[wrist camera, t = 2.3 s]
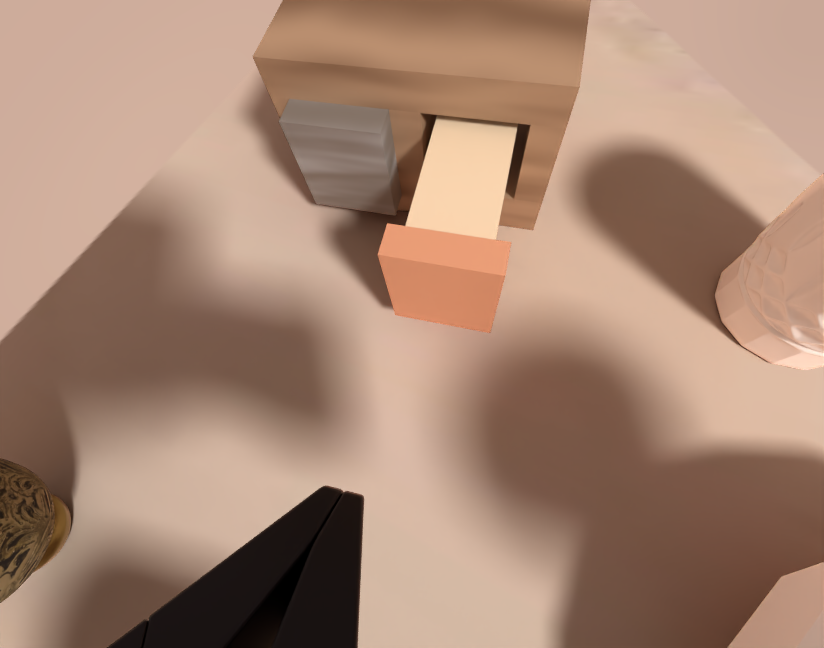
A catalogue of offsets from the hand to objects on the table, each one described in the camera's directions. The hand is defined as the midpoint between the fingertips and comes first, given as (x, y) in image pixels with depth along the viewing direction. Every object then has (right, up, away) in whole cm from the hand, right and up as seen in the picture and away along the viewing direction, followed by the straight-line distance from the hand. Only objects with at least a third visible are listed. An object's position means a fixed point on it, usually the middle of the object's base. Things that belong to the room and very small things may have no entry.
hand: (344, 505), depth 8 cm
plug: (+4, +8, +15) cm, 17 cm away
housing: (+3, +14, +19) cm, 24 cm away
